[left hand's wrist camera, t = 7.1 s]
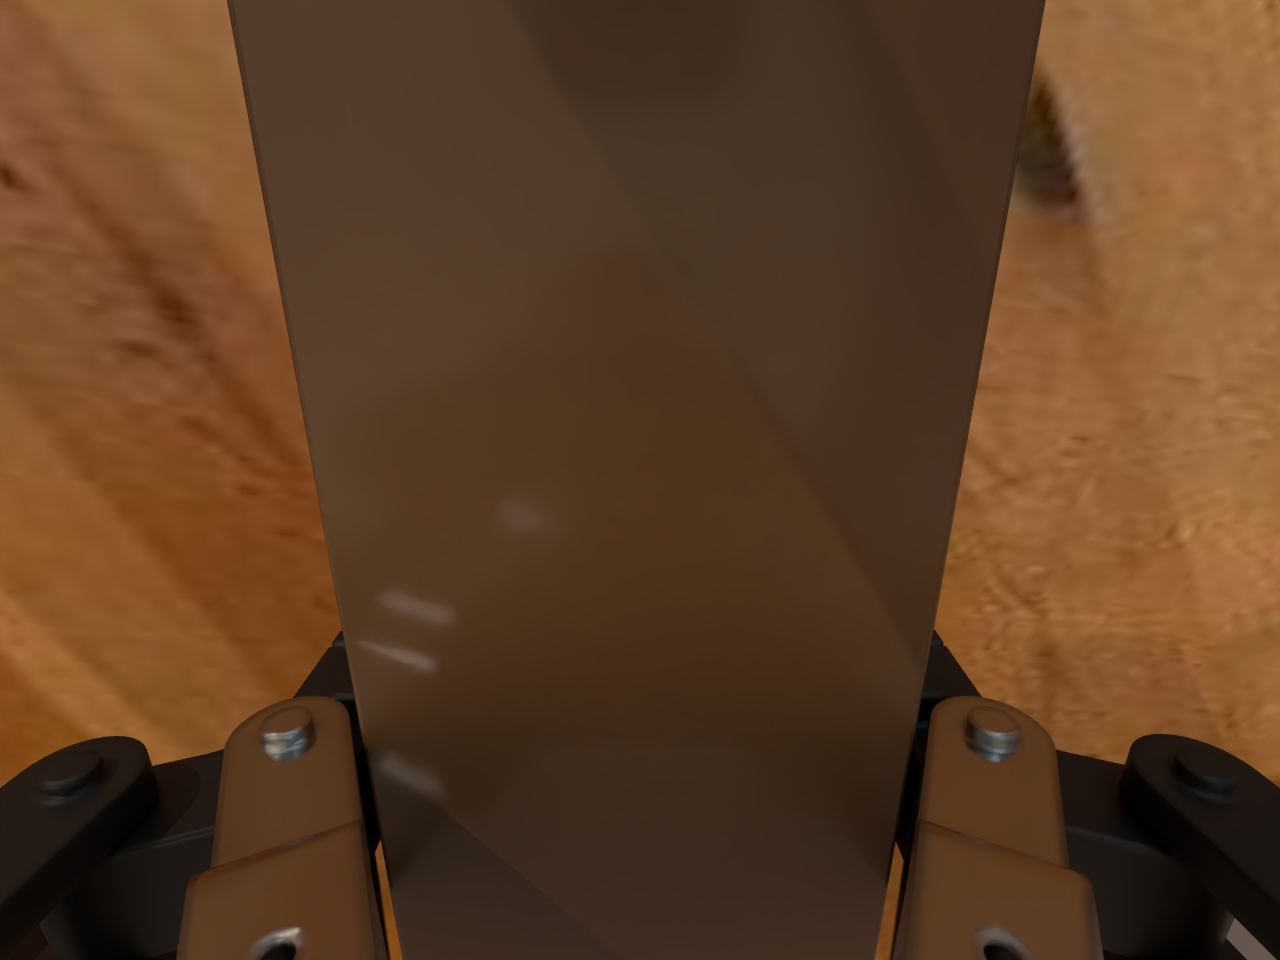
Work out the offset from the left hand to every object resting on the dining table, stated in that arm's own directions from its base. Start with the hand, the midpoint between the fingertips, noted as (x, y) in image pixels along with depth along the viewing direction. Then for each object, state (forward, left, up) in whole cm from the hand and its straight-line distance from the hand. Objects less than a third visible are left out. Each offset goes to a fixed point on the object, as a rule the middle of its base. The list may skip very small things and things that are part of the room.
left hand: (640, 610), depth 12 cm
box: (+7, 0, -5) cm, 9 cm away
